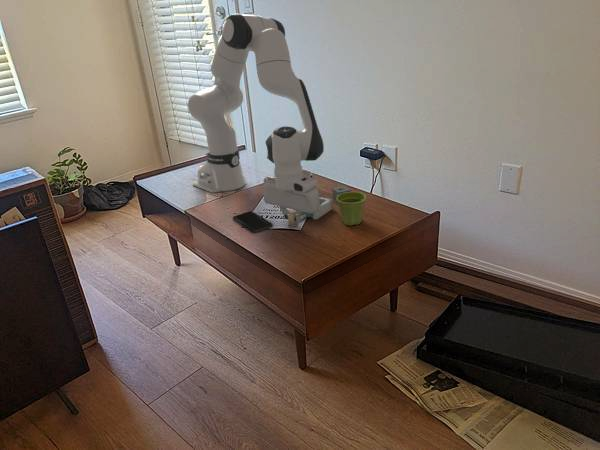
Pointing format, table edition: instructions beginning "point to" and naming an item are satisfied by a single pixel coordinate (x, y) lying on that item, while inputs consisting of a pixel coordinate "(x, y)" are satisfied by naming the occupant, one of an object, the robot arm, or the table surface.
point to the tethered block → (293, 213)
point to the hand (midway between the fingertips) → (292, 220)
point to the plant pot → (351, 207)
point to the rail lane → (323, 207)
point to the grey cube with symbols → (339, 192)
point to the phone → (252, 222)
